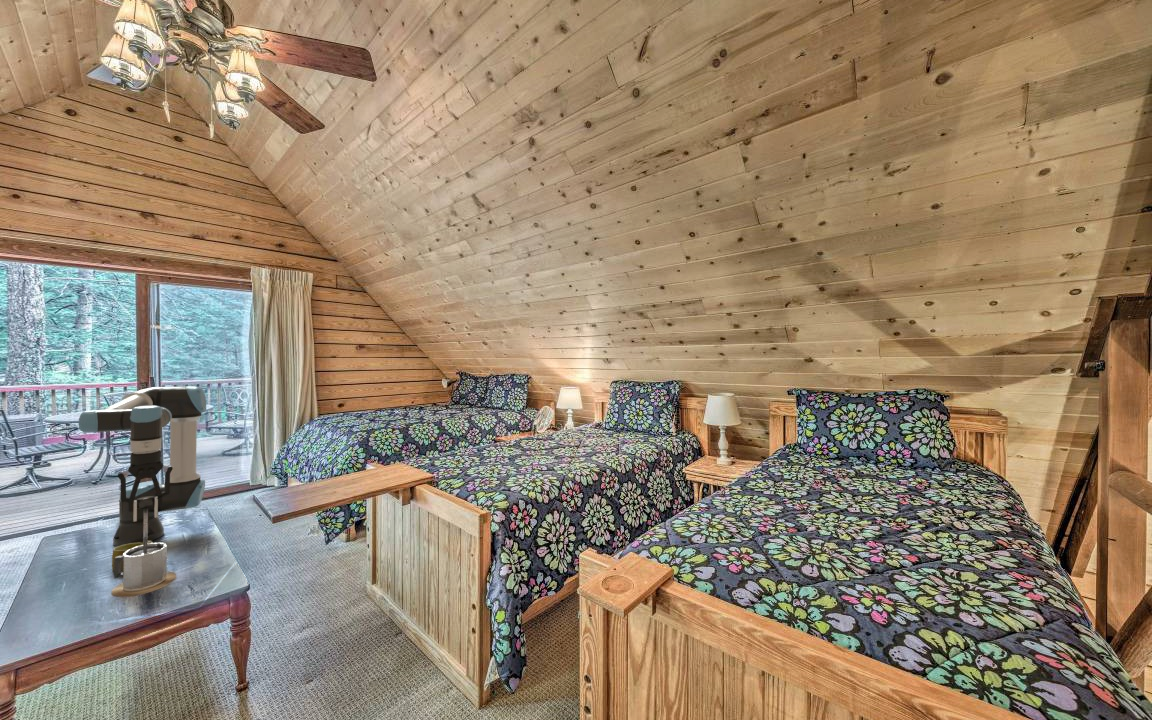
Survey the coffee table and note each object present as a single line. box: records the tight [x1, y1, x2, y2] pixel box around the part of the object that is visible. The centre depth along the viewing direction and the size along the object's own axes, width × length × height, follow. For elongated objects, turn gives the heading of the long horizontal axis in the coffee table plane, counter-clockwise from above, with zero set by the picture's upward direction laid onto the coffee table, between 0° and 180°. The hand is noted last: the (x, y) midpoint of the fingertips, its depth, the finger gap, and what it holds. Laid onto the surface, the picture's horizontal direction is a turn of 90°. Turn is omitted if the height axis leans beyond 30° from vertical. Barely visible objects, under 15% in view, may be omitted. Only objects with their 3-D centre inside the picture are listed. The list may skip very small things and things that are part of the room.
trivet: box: [110, 571, 178, 598], centre depth 147 cm, size 16×16×1 cm
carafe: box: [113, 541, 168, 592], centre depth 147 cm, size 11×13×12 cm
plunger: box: [131, 496, 160, 556], centre depth 147 cm, size 7×7×20 cm
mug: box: [111, 540, 154, 573], centre depth 159 cm, size 12×10×10 cm
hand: (145, 518), depth 147 cm, fingers closed on plunger, 4 cm apart
